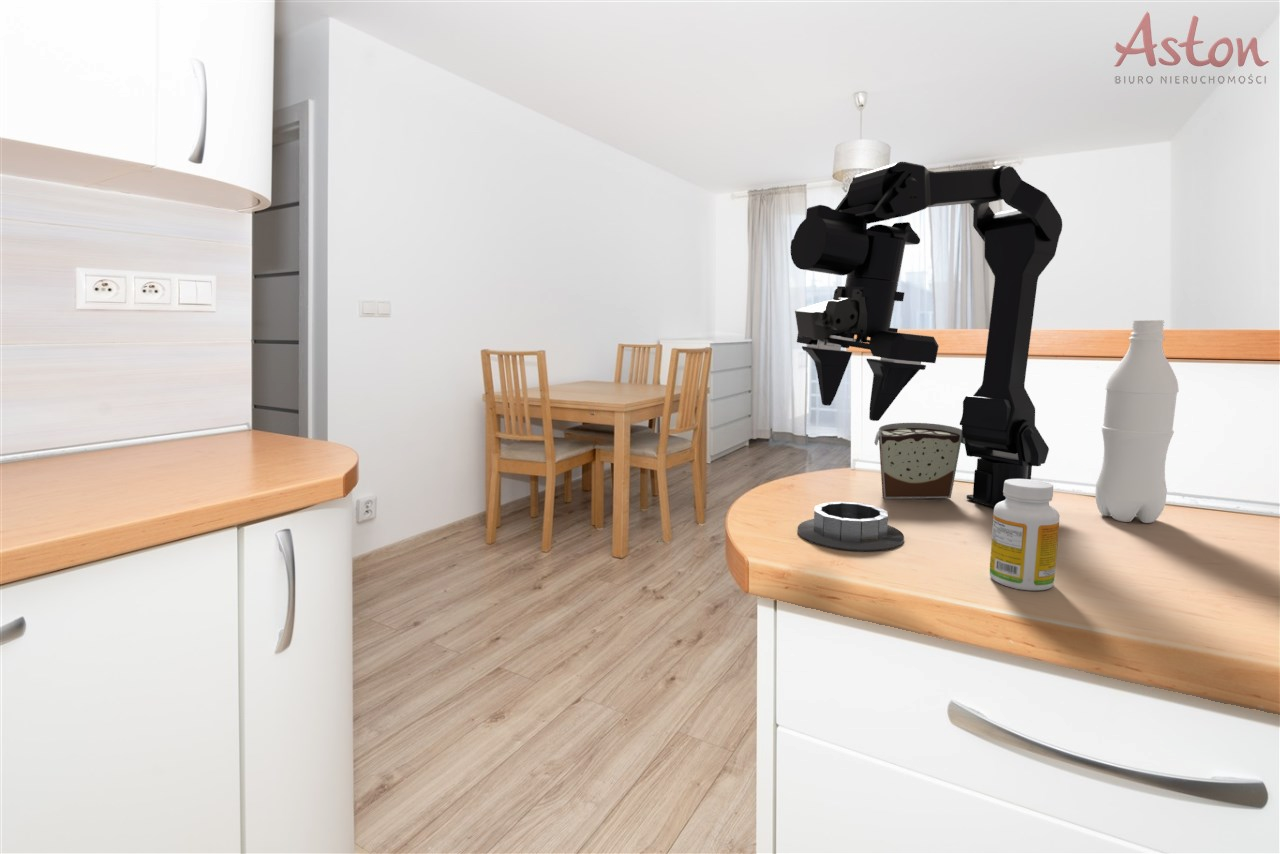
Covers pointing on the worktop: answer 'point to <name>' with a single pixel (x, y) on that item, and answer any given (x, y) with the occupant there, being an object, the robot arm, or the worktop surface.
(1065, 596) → the worktop surface
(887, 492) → the food container
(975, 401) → the robot arm
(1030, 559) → the supplement bottle
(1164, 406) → the water bottle
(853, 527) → the ring collar
